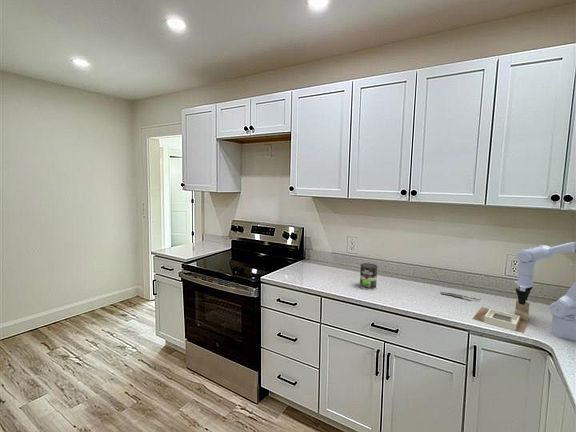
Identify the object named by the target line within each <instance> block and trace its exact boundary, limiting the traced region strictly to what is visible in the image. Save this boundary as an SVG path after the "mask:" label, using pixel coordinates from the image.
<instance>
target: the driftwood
mask: <svg viewBox="0 0 576 432" xmlns="http://www.w3.org/2000/svg"><path fill="white" fill-rule="evenodd" d="M440 295H448V296H453V297H454V298H455V297H456V298H457V297H458V298H461V299H464V300H467V301H470V300H474V301H476V303H477V301H481V298H476V297H472V296H471V297H470V296H468V295H463V294H456V293H453V292H443V291H440ZM468 298H469V299H468Z"/></svg>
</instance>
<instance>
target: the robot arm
mask: <svg viewBox="0 0 576 432" xmlns="http://www.w3.org/2000/svg"><path fill="white" fill-rule="evenodd" d="M568 252H569V253H570V252H572V253H573V254H576V241H571V242H567V243H564V244H559V245H554V246H549V245H544V244H539V245H538V246H536V247H529V248H528V249H521V250H519V251H517V253H516V258H517V259H518V261H519V262H518V273H517V281H516V280H515V281H514V282H513V284H516V285H517V286H518V287H516V288H515V290H514V291H515V293H516V294H517V300H518V302H519V304H522V305H525V302H527V300H528V298H529V295H530V294H531V291H532V289H533V288H534V285H533V283H534V273H535V272H534V271H535V265H536V261H541V260H542V261H543V260H547V259H551V258H553V257H554V255H556V254H562V253H563V254H564V253H568ZM549 310H550V313H551V314H552V318H551V328H550V334H551V335H553V336H555V337H557V338H560V339H566V340H570V341H574V342H576V281H575V282H573V284H572V285H571V286H570V288H569V289H568V291H566V293H565V294H564V295H562V296H561V297H559V298H558V299H557V300H556V301H554V302H552V303H551V304H550V305H549Z"/></svg>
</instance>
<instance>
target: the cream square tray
mask: <svg viewBox="0 0 576 432" xmlns="http://www.w3.org/2000/svg"><path fill="white" fill-rule="evenodd" d="M488 309H489V311H488V312H487V314H486V315H485V318H484V322H483V323H485V324H488V323H489V324H488V325H492V326H496V327H499V326H500V328H502V329H507V330H510V329H511V330H510V331H514V332H517V331H516V329H517V327H518V324H519V322H520V316H518V315H515V313H514V314H513V313H510V312H505V311H501V310H497V309H494V308H488Z"/></svg>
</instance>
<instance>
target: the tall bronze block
mask: <svg viewBox="0 0 576 432" xmlns="http://www.w3.org/2000/svg"><path fill="white" fill-rule="evenodd" d="M530 304H531V303H530V302H527V301H526V302H525V305H522V304H519V302H518V299H517V300H516V301H515V310H514V311H515V312H514V315H518V316H520V319H523V320H528V319H529V313H530V306H531V305H530Z"/></svg>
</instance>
